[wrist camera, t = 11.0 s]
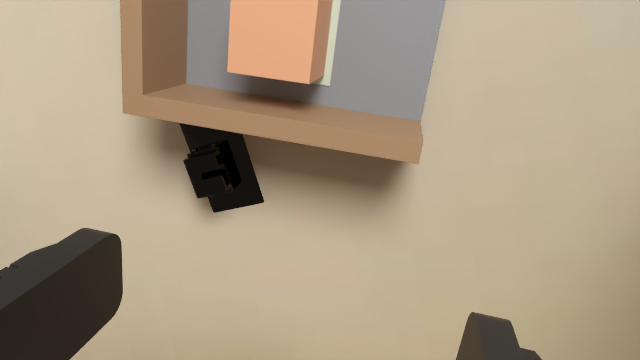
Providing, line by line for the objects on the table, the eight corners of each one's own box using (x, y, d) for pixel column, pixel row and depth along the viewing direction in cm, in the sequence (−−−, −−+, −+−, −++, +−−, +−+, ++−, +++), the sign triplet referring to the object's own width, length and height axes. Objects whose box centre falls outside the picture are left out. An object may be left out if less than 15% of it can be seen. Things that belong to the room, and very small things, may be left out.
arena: (463, -91, 33) (479, -125, 25) (416, 137, 38) (418, 164, 31) (177, -119, 35) (116, -157, 28) (174, 97, 41) (122, 113, 34)
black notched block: (278, 213, 44) (264, 233, 39) (211, 226, 46) (191, 247, 41) (236, 87, 40) (216, 95, 36) (167, 107, 42) (140, 117, 38)
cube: (333, -4, 35) (319, -9, 29) (324, 75, 37) (309, 84, 31) (259, -13, 36) (231, -20, 30) (253, 65, 38) (227, 72, 32)
